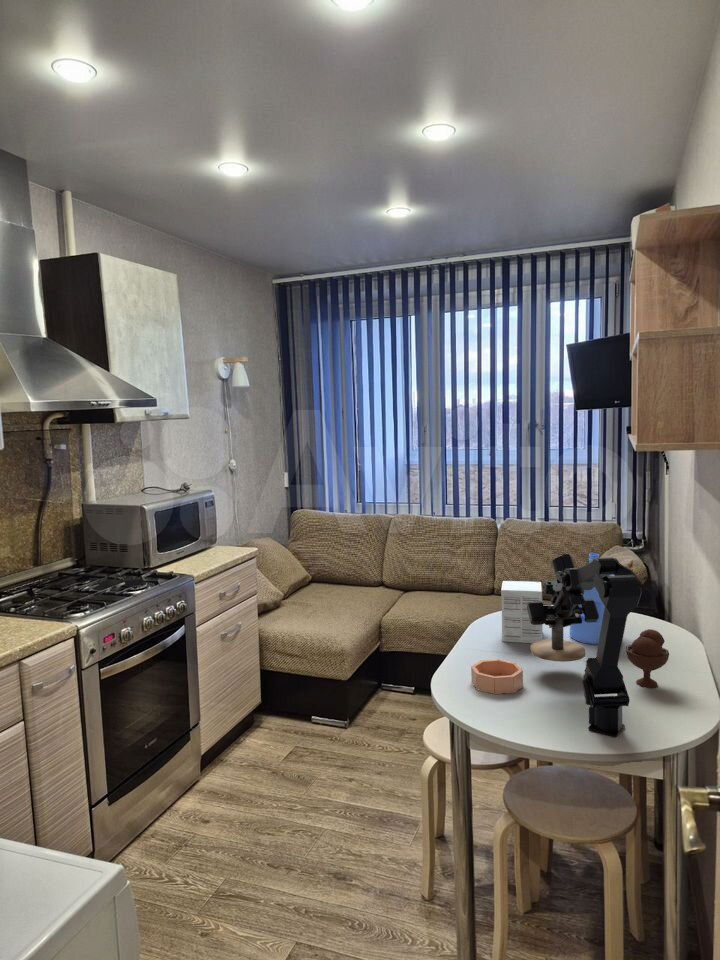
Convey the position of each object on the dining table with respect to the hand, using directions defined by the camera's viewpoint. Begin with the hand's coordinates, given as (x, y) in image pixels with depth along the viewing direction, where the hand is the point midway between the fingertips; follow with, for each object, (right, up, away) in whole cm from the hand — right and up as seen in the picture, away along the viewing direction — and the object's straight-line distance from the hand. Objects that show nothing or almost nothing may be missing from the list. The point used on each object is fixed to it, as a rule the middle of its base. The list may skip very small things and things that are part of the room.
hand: (555, 626), depth 186 cm
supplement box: (-1, -11, +33) cm, 35 cm away
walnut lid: (0, -7, -1) cm, 7 cm away
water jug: (+22, -11, +29) cm, 38 cm away
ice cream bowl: (+22, -14, -10) cm, 28 cm away
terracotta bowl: (-18, -15, -6) cm, 24 cm away
